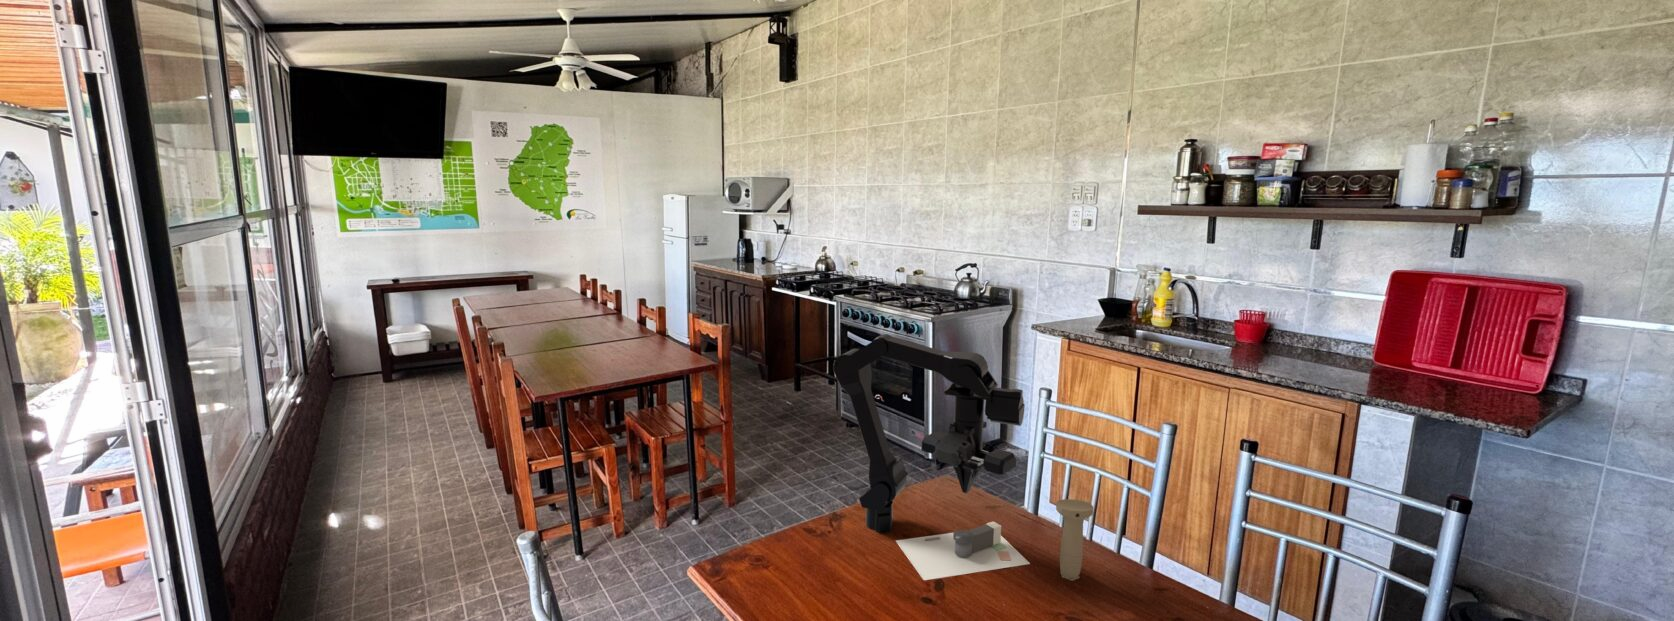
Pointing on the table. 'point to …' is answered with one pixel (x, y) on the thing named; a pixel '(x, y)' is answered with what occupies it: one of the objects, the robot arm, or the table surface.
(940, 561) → the board
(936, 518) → the table surface
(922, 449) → the robot arm
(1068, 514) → the handle
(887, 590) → the table surface
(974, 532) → the grey round-headed bar
